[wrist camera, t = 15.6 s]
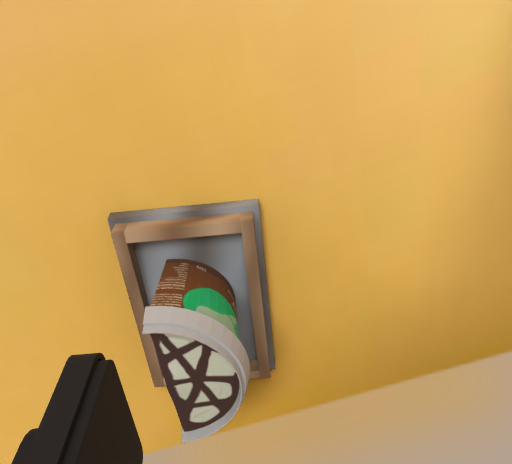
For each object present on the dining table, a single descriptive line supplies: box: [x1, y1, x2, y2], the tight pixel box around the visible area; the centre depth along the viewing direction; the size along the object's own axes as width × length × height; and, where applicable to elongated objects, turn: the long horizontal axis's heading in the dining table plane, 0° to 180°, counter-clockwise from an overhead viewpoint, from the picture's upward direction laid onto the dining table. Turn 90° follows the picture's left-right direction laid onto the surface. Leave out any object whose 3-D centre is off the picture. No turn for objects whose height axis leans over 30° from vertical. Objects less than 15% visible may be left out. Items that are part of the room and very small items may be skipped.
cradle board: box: [108, 199, 275, 387], centre depth 43 cm, size 12×18×2 cm, turn 5°
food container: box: [142, 259, 250, 443], centre depth 39 cm, size 12×6×10 cm, turn 8°
